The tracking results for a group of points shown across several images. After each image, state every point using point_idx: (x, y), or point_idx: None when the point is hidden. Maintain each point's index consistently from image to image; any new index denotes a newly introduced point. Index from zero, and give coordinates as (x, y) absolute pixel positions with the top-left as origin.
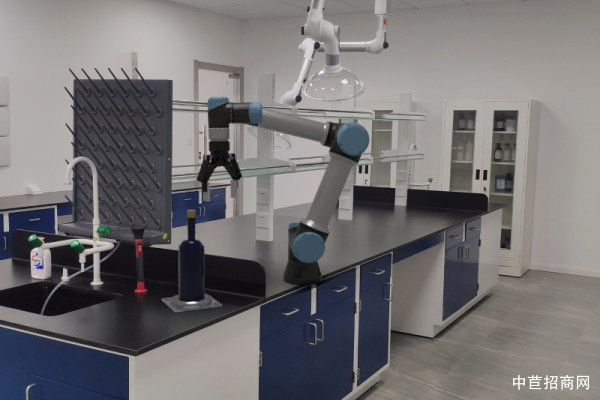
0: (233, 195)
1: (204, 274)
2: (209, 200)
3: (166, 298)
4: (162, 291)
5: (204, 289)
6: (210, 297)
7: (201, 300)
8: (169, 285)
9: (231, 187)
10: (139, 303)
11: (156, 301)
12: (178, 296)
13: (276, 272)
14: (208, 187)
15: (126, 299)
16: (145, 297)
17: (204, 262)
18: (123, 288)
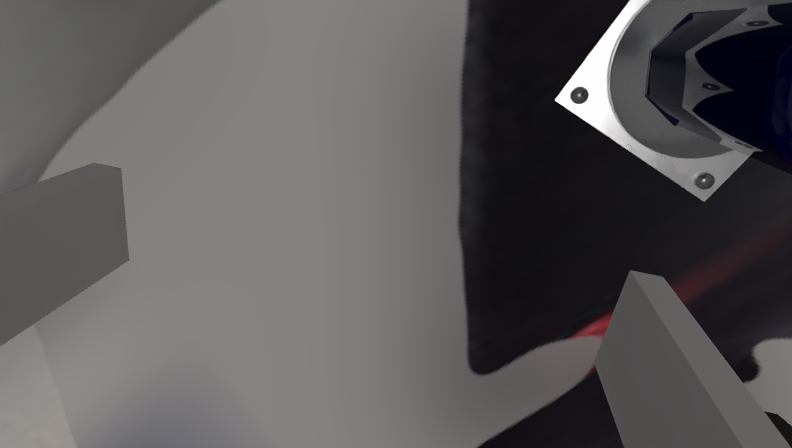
0: (102, 225)
1: (747, 8)
2: (647, 278)
3: (714, 177)
4: (580, 272)
5: (710, 12)
6: (656, 7)
7: (723, 7)
8: (494, 300)
9: (5, 320)
10: (776, 241)
11: (724, 206)
12: (698, 138)
13: (97, 79)
14: (775, 444)
15: (740, 310)
16: (686, 273)
17: (786, 3)
18: (606, 398)
